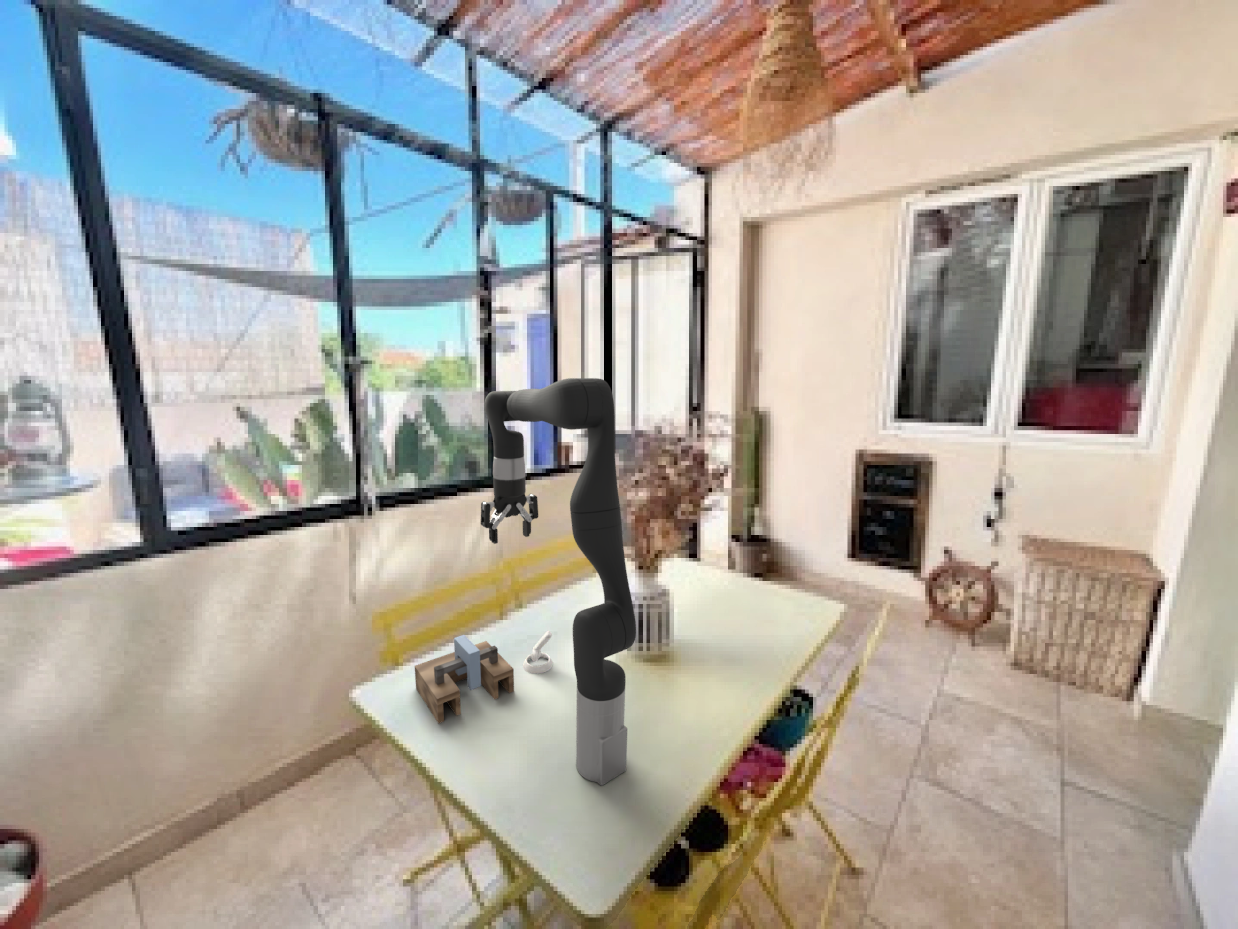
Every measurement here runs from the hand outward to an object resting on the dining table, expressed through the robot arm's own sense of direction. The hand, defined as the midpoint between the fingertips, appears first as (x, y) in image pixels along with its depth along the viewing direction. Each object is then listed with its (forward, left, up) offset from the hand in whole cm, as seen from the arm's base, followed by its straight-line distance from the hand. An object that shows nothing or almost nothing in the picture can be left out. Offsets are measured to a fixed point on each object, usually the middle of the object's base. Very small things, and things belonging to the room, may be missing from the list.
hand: (510, 539), depth 124 cm
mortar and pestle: (-4, -5, -34) cm, 35 cm away
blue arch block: (-5, +14, -30) cm, 33 cm away
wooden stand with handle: (-2, +14, -34) cm, 37 cm away
